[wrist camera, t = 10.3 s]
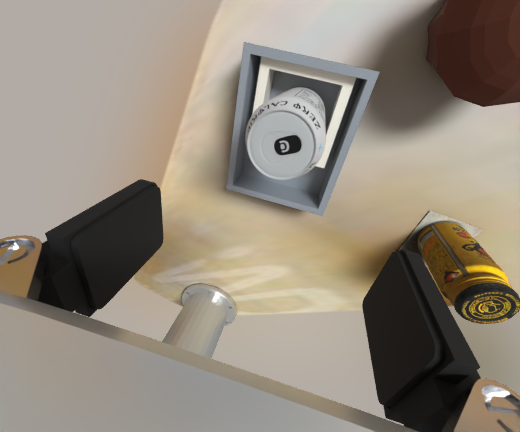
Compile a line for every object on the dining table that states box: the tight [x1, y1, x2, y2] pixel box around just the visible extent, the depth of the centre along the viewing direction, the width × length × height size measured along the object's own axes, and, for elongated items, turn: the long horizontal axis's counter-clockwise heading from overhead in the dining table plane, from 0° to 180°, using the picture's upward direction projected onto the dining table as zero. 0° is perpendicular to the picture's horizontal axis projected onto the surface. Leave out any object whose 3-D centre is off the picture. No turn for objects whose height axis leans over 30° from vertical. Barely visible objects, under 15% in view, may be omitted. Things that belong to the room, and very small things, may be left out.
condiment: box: [398, 211, 520, 324], centre depth 29 cm, size 7×8×12 cm
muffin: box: [426, 0, 520, 107], centre depth 18 cm, size 12×11×10 cm
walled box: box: [226, 42, 380, 216], centre depth 29 cm, size 16×13×5 cm
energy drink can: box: [245, 87, 326, 180], centre depth 23 cm, size 6×6×15 cm
